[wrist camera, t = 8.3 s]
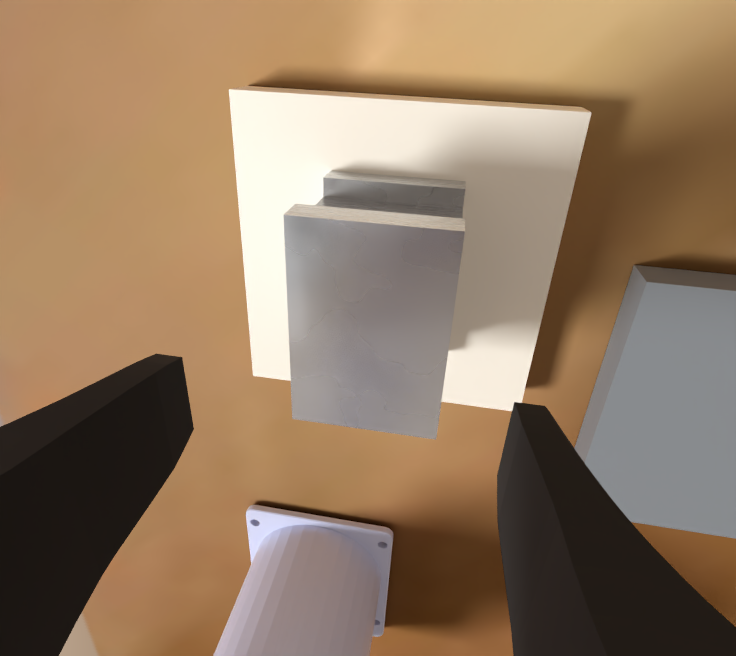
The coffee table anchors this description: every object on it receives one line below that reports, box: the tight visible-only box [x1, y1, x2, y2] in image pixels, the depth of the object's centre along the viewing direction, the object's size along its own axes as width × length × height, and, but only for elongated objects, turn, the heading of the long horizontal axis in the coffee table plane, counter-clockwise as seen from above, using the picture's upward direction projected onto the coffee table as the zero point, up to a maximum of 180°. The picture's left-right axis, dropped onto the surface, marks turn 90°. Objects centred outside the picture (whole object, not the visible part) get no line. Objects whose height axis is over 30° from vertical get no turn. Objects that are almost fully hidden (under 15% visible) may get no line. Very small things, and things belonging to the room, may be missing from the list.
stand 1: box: [229, 86, 592, 411], centre depth 19 cm, size 11×11×2 cm
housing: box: [283, 171, 466, 439], centre depth 16 cm, size 6×4×5 cm
